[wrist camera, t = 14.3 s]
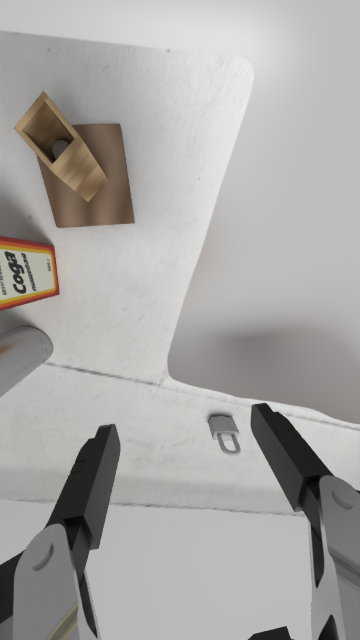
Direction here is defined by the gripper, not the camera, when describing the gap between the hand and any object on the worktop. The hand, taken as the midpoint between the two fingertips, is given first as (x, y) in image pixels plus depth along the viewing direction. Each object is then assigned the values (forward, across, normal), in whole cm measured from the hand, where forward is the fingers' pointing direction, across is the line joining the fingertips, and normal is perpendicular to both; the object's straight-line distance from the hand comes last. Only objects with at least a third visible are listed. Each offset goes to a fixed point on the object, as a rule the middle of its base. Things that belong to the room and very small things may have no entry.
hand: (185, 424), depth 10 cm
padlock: (+30, -12, +37) cm, 49 cm away
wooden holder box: (+29, +12, -24) cm, 40 cm away
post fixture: (+30, +12, -24) cm, 40 cm away
